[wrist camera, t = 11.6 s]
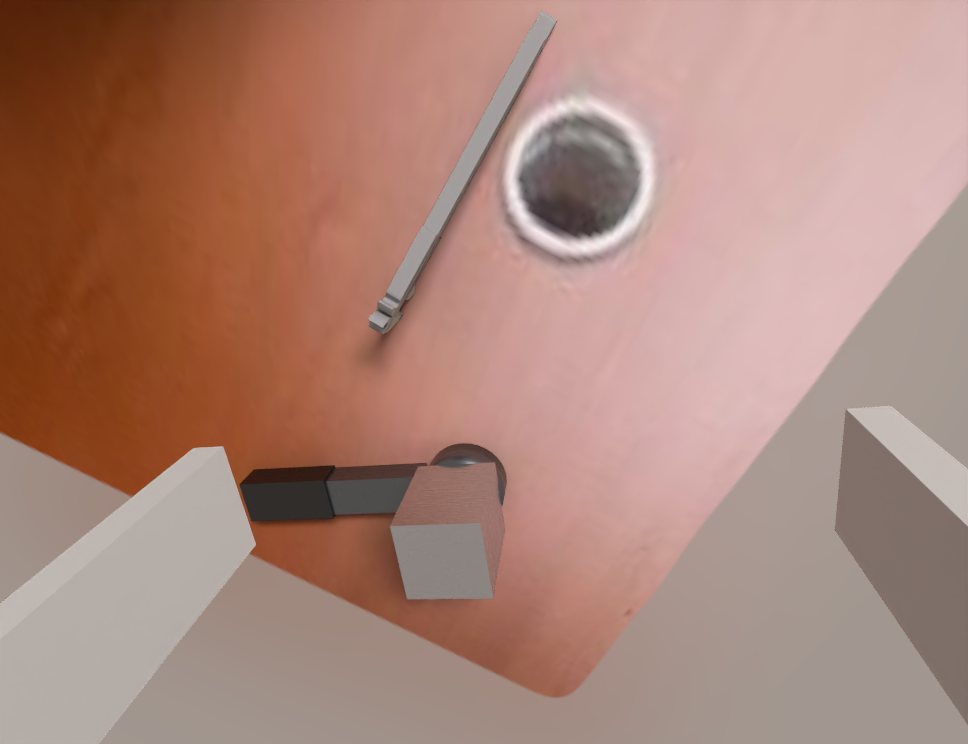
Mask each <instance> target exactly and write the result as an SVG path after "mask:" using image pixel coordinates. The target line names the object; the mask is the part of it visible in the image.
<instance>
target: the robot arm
mask: <svg viewBox="0 0 968 744" xmlns="http://www.w3.org/2000/svg"><path fill="white" fill-rule="evenodd" d="M836 513H837V514H836V525H835V531H836V532H837V534H838V535H839V537H840V538H841V539H842V541H843V543H844V544H845V545H846V547H847V548H848V550H849V551H850V553H851V554H852V556H853V557H854V559H855V560H856V562H857V563H858V564H859V566H860V567H861V569H862V570H863V572H864V573H865V575H866V576H867V577H868V579H869V581H870V582H871V584H872V585H873V587H874V588H875V589H876V591H877V592H878V594H879V595H880V597H881V598H882V600H883V601H884V602H885V604H886V606H887V607H888V609H890V611H891V613H892V614H893V616H894V617H895V619H896V620H897V622H898V623H899V625H900V626H901V627H902V629H903V630H904V632H905V633H906V635H907V636H908V638H909V639H910V641H911V642H912V644H913V645H914V647H915V648H916V650H917V651H918V652H919V654H920V655H921V657H922V658H923V660H924V661H925V663H926V664H927V666H928V667H929V668H930V670H931V672H932V673H933V674H934V676H935V677H936V679H937V680H938V682H939V683H940V685H941V686H942V687H943V689H944V691H945V692H946V693H947V695H948V696H949V698H950V699H951V701H952V702H953V704H954V705H955V707H956V708H957V709H958V711H959V712H960V714H961V715H962V717H963V718H964V720H965V721H966V723H967V724H968V469H967V468H966V467H964V466H963V465H962V464H961V463H959V462H958V461H957V460H956V459H955V458H953V457H952V456H951V455H950V454H949V453H947V452H946V451H945V450H944V449H942V448H941V447H940V446H939V445H938V444H936V443H935V442H934V441H933V440H931V439H930V438H929V437H928V436H926V435H925V434H924V433H923V432H922V431H921V430H919V429H918V428H917V427H916V426H914V425H913V424H912V423H911V422H909V421H908V420H907V419H906V418H905V417H903V416H902V415H901V414H900V413H898V412H897V411H896V410H895V409H894V408H892V407H891V406H883V407H868V408H850V409H846V413H845V424H844V435H843V446H842V457H841V469H840V479H839V490H838V502H837V512H836ZM255 545H256V543H255V540H254V537H253V534H252V531H251V528H250V525H249V522H248V519H247V516H246V513H245V510H244V507H243V504H242V501H241V498H240V495H239V492H238V490H237V487H236V484H235V481H234V478H233V475H232V472H231V469H230V466H229V463H228V460H227V457H226V454H225V451H224V448H223V446H220V447H204V448H193V449H192V450H191V451H189V452H188V453H187V454H186V455H184V456H183V457H182V458H181V459H179V460H178V461H177V462H176V463H174V464H173V465H172V466H171V467H169V468H168V469H167V470H166V471H164V472H163V473H162V474H161V475H159V476H158V477H157V478H156V479H154V480H153V481H152V482H151V483H149V484H148V485H147V486H146V487H144V488H143V489H142V490H141V491H139V492H138V493H137V494H136V495H134V496H133V497H132V498H131V499H130V500H128V501H127V502H126V503H125V504H123V505H122V506H121V507H120V508H118V509H117V510H116V511H115V512H113V513H112V514H111V515H110V516H108V517H107V518H106V519H105V520H103V521H102V522H101V523H100V524H98V525H97V526H96V527H95V528H93V529H92V530H91V531H90V532H88V533H87V534H86V535H85V536H83V537H82V538H81V539H80V540H78V541H77V542H76V543H75V544H74V545H72V546H71V547H70V548H69V549H67V550H66V551H65V552H63V553H62V554H61V555H60V556H59V557H57V558H56V559H55V560H53V561H52V562H51V563H50V564H48V565H47V566H46V567H45V568H44V569H42V570H41V571H40V572H39V573H37V574H36V575H35V576H34V577H32V578H31V579H30V580H29V581H27V582H26V583H25V584H24V585H22V586H21V587H20V588H19V589H17V590H16V591H15V592H14V593H12V594H11V595H10V596H8V597H7V598H6V599H5V600H3V601H2V602H1V603H0V744H99V743H100V742H101V740H102V739H103V738H104V736H105V735H106V734H107V733H108V732H109V730H110V729H111V728H112V726H113V725H114V724H115V723H116V721H117V720H118V719H119V718H120V716H121V715H122V714H123V712H124V711H125V710H126V709H127V707H128V706H129V705H130V704H131V702H132V701H133V700H134V699H135V697H136V696H137V695H138V694H139V692H140V691H141V690H142V688H143V687H144V686H145V685H146V683H147V682H148V681H149V680H150V678H151V677H152V676H153V675H154V673H155V672H156V671H157V669H158V668H159V667H160V666H161V664H162V663H163V662H164V661H165V659H166V658H167V657H168V656H169V654H170V653H171V652H172V650H173V649H174V648H175V647H176V645H177V644H178V643H179V642H180V640H181V639H182V638H183V637H184V635H185V634H186V633H187V631H188V630H189V629H190V628H191V626H192V625H193V624H194V623H195V621H196V620H197V619H198V618H199V616H200V615H201V614H202V612H203V611H204V610H205V609H206V607H207V606H208V605H209V604H210V602H211V601H212V600H213V599H214V597H215V596H216V595H217V593H218V592H219V591H220V590H221V588H222V587H223V586H224V585H225V583H226V582H227V581H228V580H229V578H230V577H231V576H232V574H233V573H234V572H235V571H236V569H237V568H238V567H239V566H240V564H241V563H242V562H243V560H244V559H245V558H246V557H247V555H248V554H249V553H250V552H251V550H252V549H253V548H254V547H255Z"/></svg>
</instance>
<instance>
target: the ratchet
mask: <svg viewBox="0 0 968 744" xmlns="http://www.w3.org/2000/svg"><path fill="white" fill-rule="evenodd" d="M493 462H495V465H496V472H497V478H498V485H499V491H500V498H501V504H502V505H503V500H504V495H505V489H506V483H507V479H506V473H505V470H504V467H503V465H502V463H501V462H500V461H499V459H498V458H497V457H496V456H495V455H494V454H493V453H491V452H490V451H488V450H487V449H485V448H483V447H480V446H478V445H473V444H455V445H451V446H449V447H447V448H445V449H443V450H442V451H440V452H439V453H438V454H437V455H436V456H435V458H434V459H433V461H432V463H431V465H430V466H436V465H455V464H474V463H493ZM418 466H427V463H417V464H398V465H378V466H359V467H339V468H335V466H315V467H296V468H277V469H258V470H253V471H252V472H251V473H250V474H249V475H248V476H247V477H246V478H245V479H244V480H243V481H242V482H241V483H240V484H239V485H240V488H241V491H242V494H243V497H244V500H245V503H246V506H247V509H248V512H249V515H250V518H251V521H273V520H303V519H332V518H334V517H335V516H336V515H341V514H369V513H396V512H397V510H398V508H399V506H400V504H401V502H402V500H403V498H404V495H405V493H406V491H407V489H408V487H409V485H410V483H411V481H412V479H413V477H414V475H415V472H416V470H417V468H418Z"/></svg>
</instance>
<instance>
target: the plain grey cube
mask: <svg viewBox="0 0 968 744" xmlns="http://www.w3.org/2000/svg"><path fill="white" fill-rule="evenodd" d="M390 529H391V533H392V537H393V542H394V546H395V550H396V554H397V558H398V563H399V567H400V571H401V575H402V580H403V584H404V588H405V592H406V597H407V599H493V597H494V591H495V585H496V580H497V574H498V568H499V562H500V557H501V551H502V545H503V539H504V534H505V524H504V517H503V511H502V504H501V498H500V491H499V485H498V478H497V472H496V465H495V462H493V463H474V464H455V465H436V466H418V468H417V470H416V472H415V475H414V477H413V479H412V481H411V483H410V485H409V487H408V489H407V491H406V493H405V495H404V498H403V500H402V502H401V504H400V506H399V508H398V510H397V512H396V514H395V516H394V519H393V521H392V523H391V525H390Z"/></svg>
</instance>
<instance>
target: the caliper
mask: <svg viewBox="0 0 968 744" xmlns="http://www.w3.org/2000/svg"><path fill="white" fill-rule="evenodd" d="M556 22H557V20H556V19H555V18H553V17H552V16H550V15H549V14H547V13H545V12H544V11H542V12H541V14H540V15H539V16H538V18H537V20H536V22H535V24H534V26H533V27H532V29H530V30H529V32H528V34H527V36H526V37H525V39H524V41H523V43H522V45H521V47H520V49H519V50H518V52H517V54H516V56H515V58H514V60H513V61H512V63H511V65H510V67H509V69H508V71H507V72H506V74H505V76H504V78H503V80H502V82H501V84H500V85H499V87H498V89H497V91H496V93H495V95H494V96H493V98H492V100H491V102H490V104H489V106H488V108H487V109H486V111H485V113H484V115H483V117H482V119H481V120H480V122H479V124H478V126H477V128H476V130H475V132H474V133H473V135H472V137H471V139H470V141H469V143H468V144H467V146H466V148H465V150H464V152H463V154H462V156H461V157H460V159H459V161H458V163H457V165H456V167H455V169H454V170H453V172H452V174H451V176H450V178H449V180H448V181H447V183H446V185H445V187H444V189H443V191H442V193H441V194H440V196H439V198H438V200H437V202H436V204H435V205H434V207H433V209H432V211H431V213H430V215H429V217H428V218H427V220H426V222H425V224H424V226H422V227H421V229H420V231H419V233H418V234H417V236H416V238H415V240H414V242H413V244H412V246H411V247H410V249H409V251H408V253H407V255H406V257H405V258H404V260H403V262H402V264H401V266H400V268H399V269H398V271H397V273H396V275H395V277H394V279H393V280H392V282H391V284H390V286H389V288H388V290H387V292H386V293H387V294H386V296H385V298H383V300H379V301H378V303H377V308H378V310H376V311H375V312H374V313H373V314H372V315H371V316H370V317H369V319H368V320H370V321H371V322H370V323H369V325H368V326H369V327H371V328H372V329H374V330H376V331H378V332H379V333H381V334H384V333H387V332H388V331H389V330H390V329H391V328H392V327H393V326H394V325H395V324H396V323H397V322H398V321H399V320H400V319H401V317H402V315H403V314H404V313H402V312H400V311H399V310H400V308H401V306H402V304H403V302H404V301H405V300H409V299H410V298H412V297H413V295H414V293H415V282H416V280H417V278H418V277H419V275H420V273H421V272H422V270H423V268H424V267H425V265H426V263H427V262H428V260H429V258H430V256H431V254H432V252H433V251H434V249H435V247H436V245H437V244H438V242H439V240H440V238H441V237H440V235H441V233H442V232H443V230H444V228H445V226H446V224H447V223H448V221H449V219H450V217H451V215H452V213H453V212H454V210H455V208H456V206H457V204H458V203H459V201H460V199H461V197H462V195H463V193H464V192H465V190H466V188H467V186H468V184H469V183H470V181H471V179H472V177H473V175H474V173H475V172H476V170H477V168H478V166H479V164H480V163H481V161H482V159H483V157H484V155H485V154H486V152H487V150H488V148H489V146H490V144H491V143H492V141H493V139H494V137H495V135H496V134H497V132H498V130H499V128H500V126H501V125H502V123H503V121H504V119H505V117H506V115H507V114H508V112H509V110H510V108H511V106H512V105H513V103H514V101H515V99H516V97H517V96H518V94H519V92H520V90H521V88H522V86H523V85H524V83H525V81H526V79H527V77H528V76H529V74H530V72H531V70H532V68H533V66H534V64H535V62H536V60H537V59H538V57H539V55H540V53H541V51H542V49H543V47H544V45H545V42H546V41H547V39H548V37H549V35H550V33H551V32H552V30H553V28H554V26H555V24H556Z"/></svg>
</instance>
